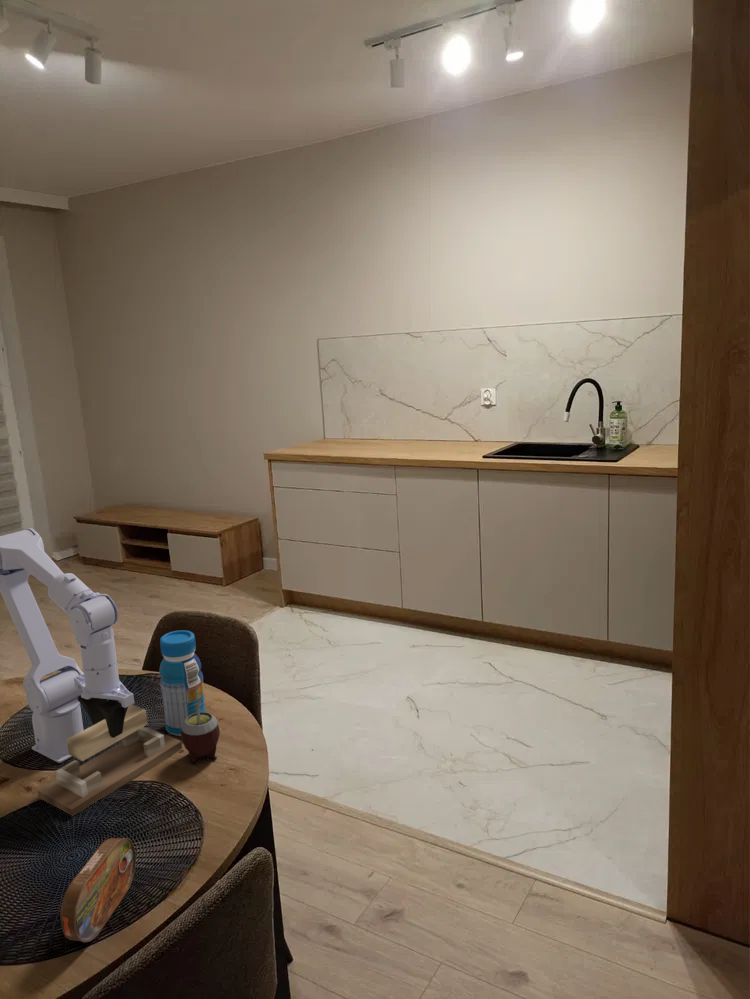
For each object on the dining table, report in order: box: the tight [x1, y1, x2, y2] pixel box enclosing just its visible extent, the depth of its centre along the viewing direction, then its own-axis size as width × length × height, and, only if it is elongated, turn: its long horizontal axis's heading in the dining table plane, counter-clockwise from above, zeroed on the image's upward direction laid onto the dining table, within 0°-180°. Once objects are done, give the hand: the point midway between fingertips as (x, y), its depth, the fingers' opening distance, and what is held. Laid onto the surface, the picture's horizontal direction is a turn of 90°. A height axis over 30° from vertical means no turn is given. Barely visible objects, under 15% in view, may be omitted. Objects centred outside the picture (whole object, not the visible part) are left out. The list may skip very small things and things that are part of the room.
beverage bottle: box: [159, 629, 206, 737], centre depth 147 cm, size 8×8×20 cm
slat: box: [67, 704, 148, 762], centre depth 133 cm, size 4×14×3 cm, turn 146°
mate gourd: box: [180, 698, 221, 766], centre depth 137 cm, size 8×8×15 cm
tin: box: [59, 837, 137, 943], centre depth 102 cm, size 15×3×8 cm, turn 168°
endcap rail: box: [37, 726, 183, 817], centre depth 135 cm, size 10×24×4 cm, turn 146°
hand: (108, 731), depth 133 cm, fingers closed on slat, 4 cm apart
